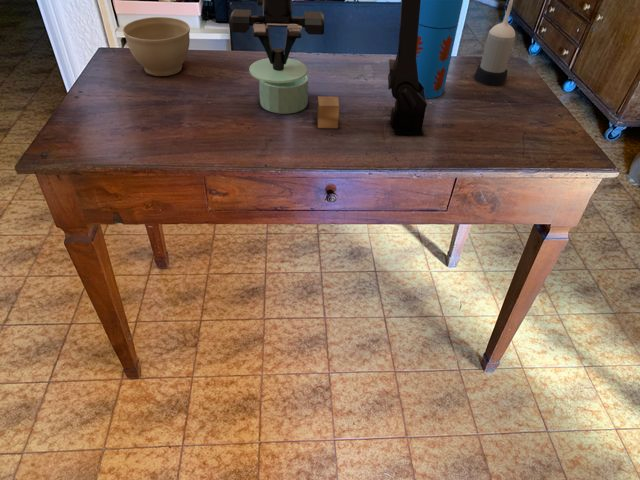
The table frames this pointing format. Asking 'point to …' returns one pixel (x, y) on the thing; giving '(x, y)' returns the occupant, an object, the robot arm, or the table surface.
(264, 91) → the tin
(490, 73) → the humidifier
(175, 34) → the planter bowl
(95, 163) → the table surface
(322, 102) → the block
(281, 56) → the lid
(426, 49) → the thermos
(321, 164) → the table surface
